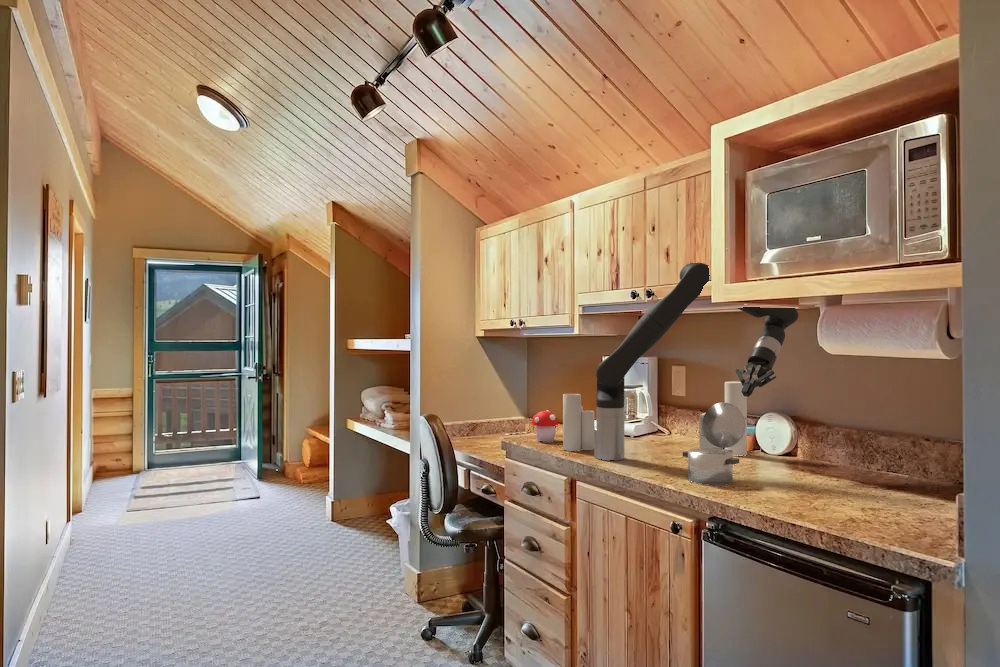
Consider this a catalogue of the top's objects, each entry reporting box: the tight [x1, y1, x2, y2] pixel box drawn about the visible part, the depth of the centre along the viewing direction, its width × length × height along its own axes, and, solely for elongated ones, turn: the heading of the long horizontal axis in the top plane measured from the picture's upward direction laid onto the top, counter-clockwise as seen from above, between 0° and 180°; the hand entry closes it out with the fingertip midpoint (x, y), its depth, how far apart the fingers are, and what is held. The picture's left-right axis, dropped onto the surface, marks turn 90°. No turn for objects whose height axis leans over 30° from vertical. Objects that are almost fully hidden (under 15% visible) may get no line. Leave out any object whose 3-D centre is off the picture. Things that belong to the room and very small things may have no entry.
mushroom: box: [530, 409, 559, 443], centre depth 253 cm, size 11×11×12 cm
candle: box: [562, 393, 596, 452], centre depth 234 cm, size 11×7×20 cm, turn 107°
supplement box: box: [698, 412, 723, 449], centre depth 235 cm, size 7×7×13 cm
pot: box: [682, 448, 740, 486], centre depth 183 cm, size 16×14×8 cm
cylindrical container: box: [724, 381, 748, 456], centre depth 223 cm, size 7×7×25 cm
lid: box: [702, 402, 745, 449], centre depth 188 cm, size 13×13×3 cm
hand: (745, 394), depth 196 cm, fingers closed
